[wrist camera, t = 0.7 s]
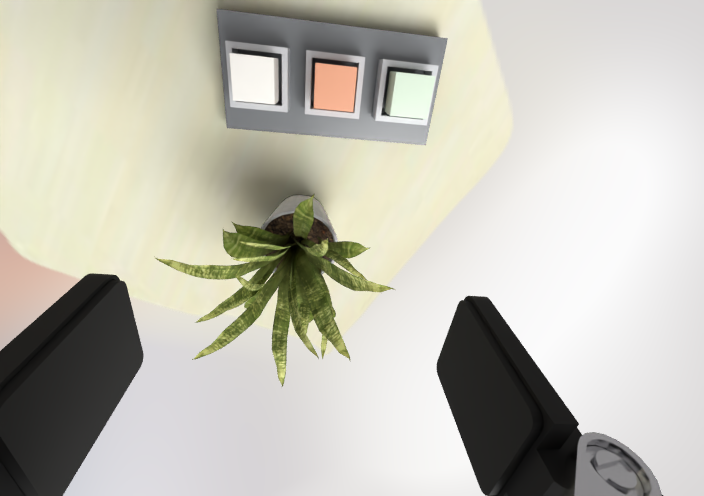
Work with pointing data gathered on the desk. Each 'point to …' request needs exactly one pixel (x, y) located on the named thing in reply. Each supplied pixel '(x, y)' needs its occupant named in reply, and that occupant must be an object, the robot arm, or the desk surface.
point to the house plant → (285, 276)
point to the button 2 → (334, 87)
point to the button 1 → (254, 78)
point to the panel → (328, 48)
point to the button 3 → (409, 95)
